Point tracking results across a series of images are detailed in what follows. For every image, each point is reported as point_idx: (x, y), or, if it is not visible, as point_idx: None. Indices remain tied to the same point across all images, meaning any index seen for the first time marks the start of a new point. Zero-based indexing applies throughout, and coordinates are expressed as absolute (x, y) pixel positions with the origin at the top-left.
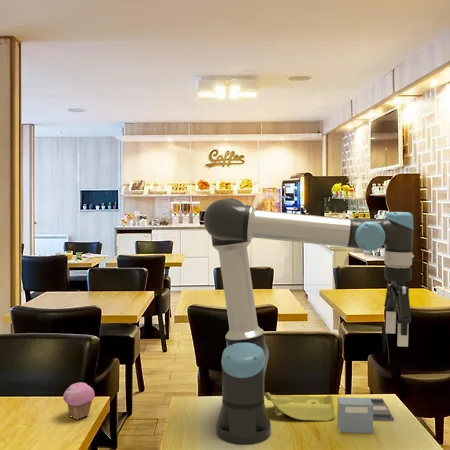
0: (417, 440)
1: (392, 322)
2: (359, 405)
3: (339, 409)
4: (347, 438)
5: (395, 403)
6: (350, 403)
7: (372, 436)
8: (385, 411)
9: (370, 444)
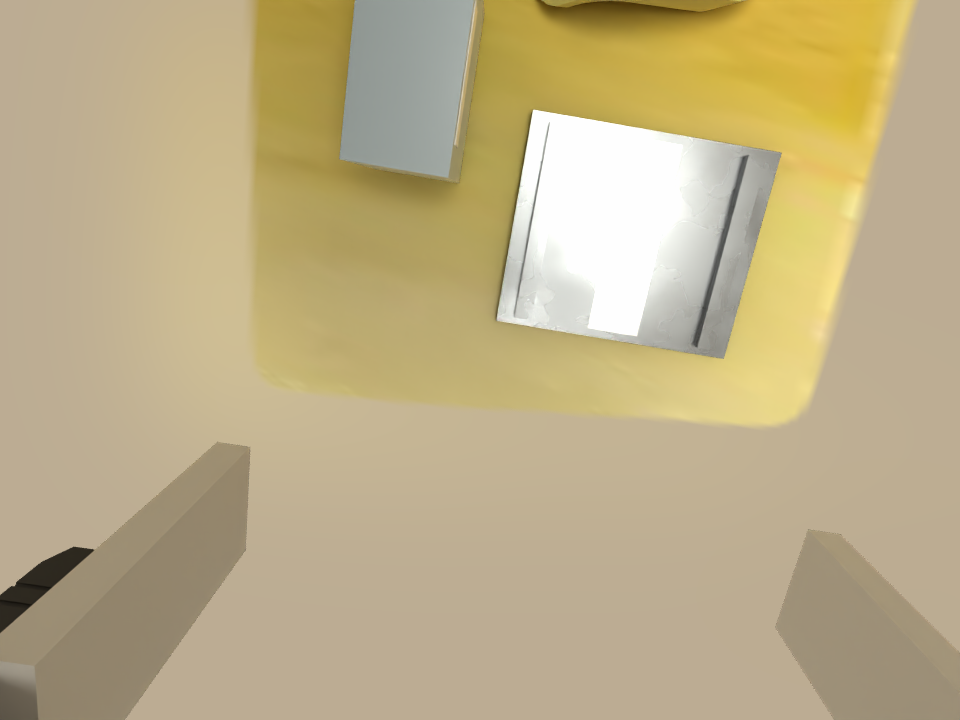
0: (296, 339)
1: (873, 713)
2: (348, 72)
3: None
4: (324, 18)
5: (690, 406)
6: (370, 15)
7: None
8: (575, 311)
9: (261, 114)
